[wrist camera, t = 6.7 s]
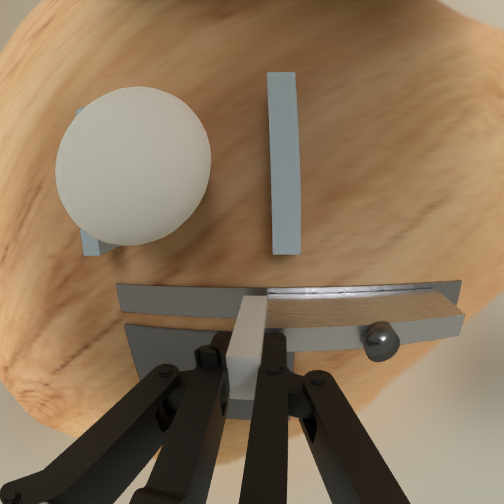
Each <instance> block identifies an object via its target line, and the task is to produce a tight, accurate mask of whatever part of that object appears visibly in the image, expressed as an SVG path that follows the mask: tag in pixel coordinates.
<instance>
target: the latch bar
mask: <svg viewBox="0 0 504 504" xmlns="http://www.w3.org/2000/svg"><path fill="white" fill-rule="evenodd" d="M464 317H465V314H464V313H463V312H462V311H461V310H460V309H459V308H458V307H456V306H455V305H454V304H453V303H452V302H451V301H449V300H448V299H447V298H446V297H445V296H443V295H442V294H441V293H440V292H439V291H437V290H436V289H435V288H430V289H416V290H399V291H380V292H357V293H323V294H268V298H267V309H266V319H265V332H282V333H283V334H284V335H285V336H286V346H287V352H303V351H331V350H348V349H362V348H364V349H365V352H366V354H367V356H368V358H369V359H370V360H372V361H374V362H382V361H385V360H388V359H389V358H391V357H392V356H393V355H394V354H395V353H396V352H397V350H398V348H399V346H400V345H402V344H410V343H417V342H424V341H430V340H437V339H443V338H448V337H454V336H459V334H460V330H461V327H462V324H463V320H464Z"/></svg>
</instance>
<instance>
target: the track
mask: <svg viewBox="0 0 504 504" xmlns="http://www.w3.org/2000/svg"><path fill="white" fill-rule="evenodd" d="M461 282H462V281H461V280H455V281H441V282H425V283H407V284H386V285H361V286H324V287H201V286H164V285H138V284H116V289H117V293H118V298H119V303H120V307H121V311H124V312H134V313H146V314H158V315H172V316H189V317H210V318H237V316H238V313H239V310H240V306H241V303H242V300H243V296H267V298H268V294H323V293H357V292H380V291H399V290H416V289H430V288H435V289H436V290H437V291H439V292H440V293H441V294H442V295H443V296H445V297H446V298H447V299H448V300H449V301H451V302H452V303H453V304H454V305H455V306H456V305H457V301H458V297H459V292H460V287H461Z"/></svg>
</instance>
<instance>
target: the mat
mask: <svg viewBox="0 0 504 504" xmlns="http://www.w3.org/2000/svg"><path fill="white" fill-rule="evenodd" d="M124 327H125V331H126V335H127V338H128V342H129V346H130V349H131V353H132V356H133V359H134V363H135V366H136V369H137V372H138V375H139V378H140V381H141V380H142V379H143V378H144V377H145V376H146V375H147V374H148V373H149V372H150V371H152V370H153V369H154V368H155V367H157V366H158V365H161V364H173V365H175V366H177V368H178V369H179V371H188V370H193V369H195V368H196V362H195V356H194V351H195V350H196V349H197V348H199V347H200V346H204V345H210V344H211V341H212V339H213V336H214V335H215V334H217V333H218V332H219V331H203V330H187V329H173V328H162V327H151V326H141V325H132V324H125V325H124ZM293 361H294V352H287V367H288V369H289V370H290V371H291V372H293ZM253 404H254V400H242V399H230V394H229V396H228V411H227V415H226V418H230V419H246V420H251V418H252V411H253ZM289 419H290V416H289V415H288V420H289Z"/></svg>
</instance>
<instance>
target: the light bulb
mask: <svg viewBox="0 0 504 504" xmlns="http://www.w3.org/2000/svg"><path fill="white" fill-rule="evenodd" d="M210 170H211V151H210V144H209V140H208V137H207V134H206V131H205V129H204V127H203V125H202V123H201V121H200V120H199V118H198V117H197V116H196V114H195V113H194V112H193V111H192V110H191V109H190V108H189V106H188V105H187V104H186V103H184V102H183V101H181V100H180V99H179V98H177V97H176V96H174V95H172V94H169V93H167V92H164V91H161V90H159V89H156V88H150V87H128V88H120V89H117V90H115V91H112V92H109V93H107V94H105V95H102V96H100V97H99V98H97V99H95V100H94V101H92V102H91V103H89V104H88V105H87V106H86V107H85V108H84V109H83V110H82V111H80V112H79V114H78V115H77V116H76V117H75V119H74V120H73V121H72V123H71V124H70V125H69V127H68V128H67V130H66V132H65V134H64V136H63V138H62V140H61V143H60V146H59V149H58V153H57V158H56V168H55V176H56V185H57V190H58V194H59V197H60V199H61V202H62V204H63V206H64V208H65V209H66V211H67V213H68V214H69V216H70V217H71V219H72V220H73V221H74V222H75V223H76V224H77V225H78V227H79V228H81V229H82V230H83V231H85V232H86V233H88V234H89V235H91V236H92V237H94V238H96V239H98V240H101V241H103V242H106V243H109V244H116V245H123V246H134V245H142V244H146V243H149V242H152V241H155V240H158V239H161V238H163V237H165V236H167V235H168V234H170V233H172V232H174V231H175V230H176V229H177V228H178V227H179V226H180V225H182V224H183V223H184V222H185V221H186V220H187V219H188V218H189V217H190V216H191V215H192V213H193V212H194V211H195V209H196V208H197V207H198V205H199V203H200V201H201V199H202V198H203V196H204V194H205V191H206V188H207V185H208V181H209V178H210Z"/></svg>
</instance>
